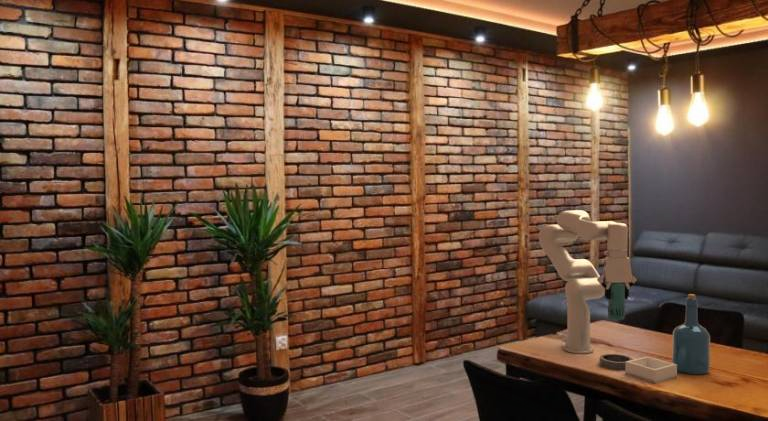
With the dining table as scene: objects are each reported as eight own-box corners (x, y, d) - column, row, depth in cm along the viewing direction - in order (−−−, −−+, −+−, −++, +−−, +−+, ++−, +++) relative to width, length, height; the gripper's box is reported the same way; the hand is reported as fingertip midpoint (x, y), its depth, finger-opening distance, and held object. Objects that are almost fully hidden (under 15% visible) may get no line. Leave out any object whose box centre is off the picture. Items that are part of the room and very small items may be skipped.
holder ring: (593, 364, 262) (593, 356, 262) (613, 359, 269) (613, 352, 268) (618, 372, 252) (618, 364, 251) (639, 366, 258) (639, 359, 258)
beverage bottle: (614, 319, 264) (614, 270, 263) (628, 322, 258) (629, 272, 257) (604, 321, 260) (604, 272, 259) (618, 324, 255) (619, 274, 253)
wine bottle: (707, 377, 244) (709, 299, 242) (669, 372, 251) (670, 295, 249) (711, 368, 255) (712, 293, 254) (674, 363, 262) (676, 290, 261)
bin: (625, 374, 249) (625, 361, 248) (647, 368, 255) (647, 356, 255) (655, 383, 238) (655, 370, 237) (676, 377, 244) (677, 364, 244)
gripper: (599, 255, 254) (598, 300, 255) (642, 255, 254) (641, 300, 255) (592, 253, 261) (591, 297, 262) (634, 252, 262) (634, 296, 263)
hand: (616, 298), depth 259 cm, fingers closed on beverage bottle, 6 cm apart
